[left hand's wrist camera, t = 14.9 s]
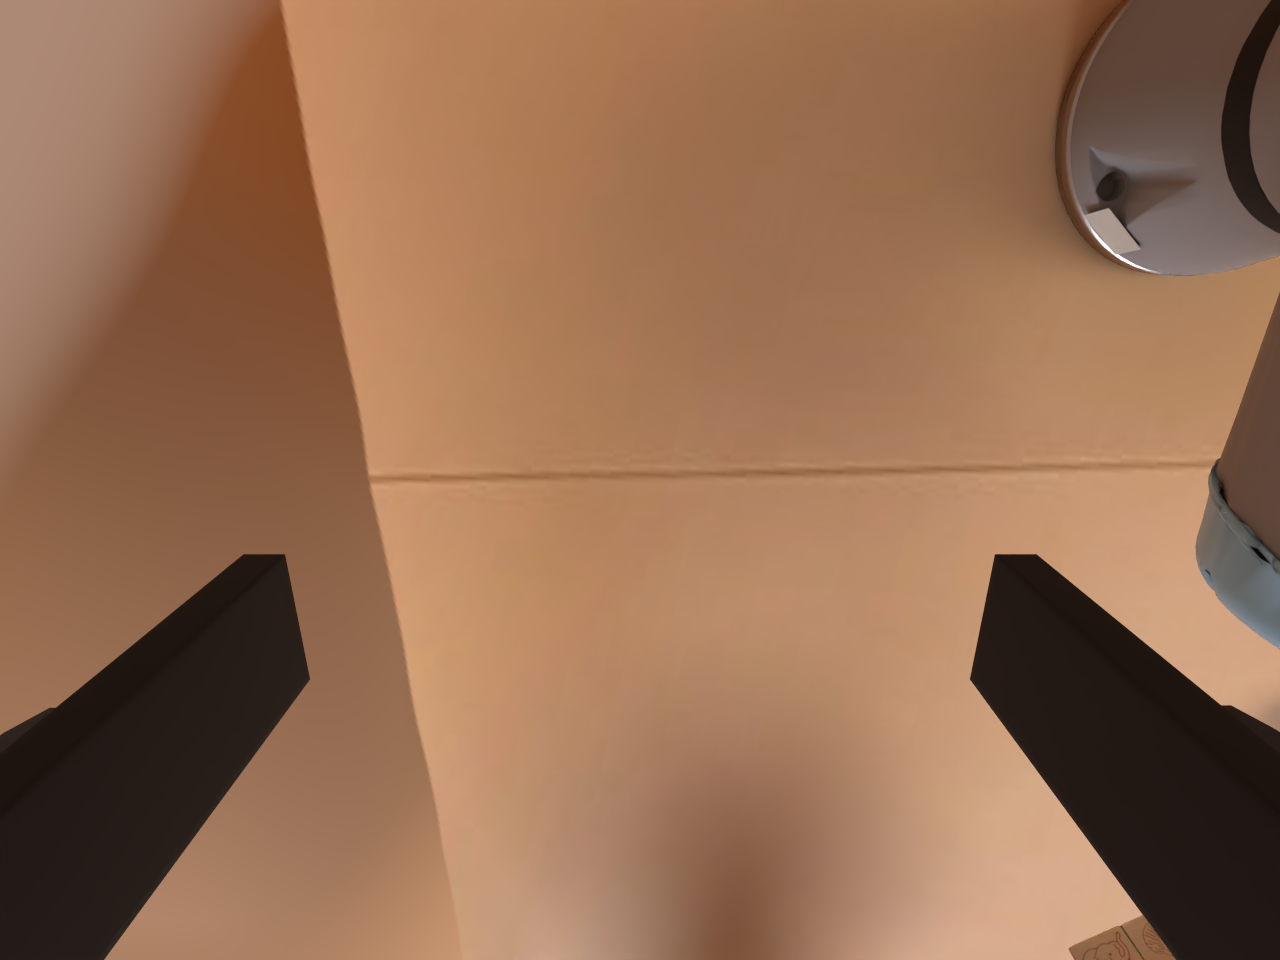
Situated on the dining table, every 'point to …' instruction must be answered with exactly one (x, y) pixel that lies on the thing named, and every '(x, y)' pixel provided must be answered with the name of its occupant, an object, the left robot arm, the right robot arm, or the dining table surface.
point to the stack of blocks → (1124, 944)
